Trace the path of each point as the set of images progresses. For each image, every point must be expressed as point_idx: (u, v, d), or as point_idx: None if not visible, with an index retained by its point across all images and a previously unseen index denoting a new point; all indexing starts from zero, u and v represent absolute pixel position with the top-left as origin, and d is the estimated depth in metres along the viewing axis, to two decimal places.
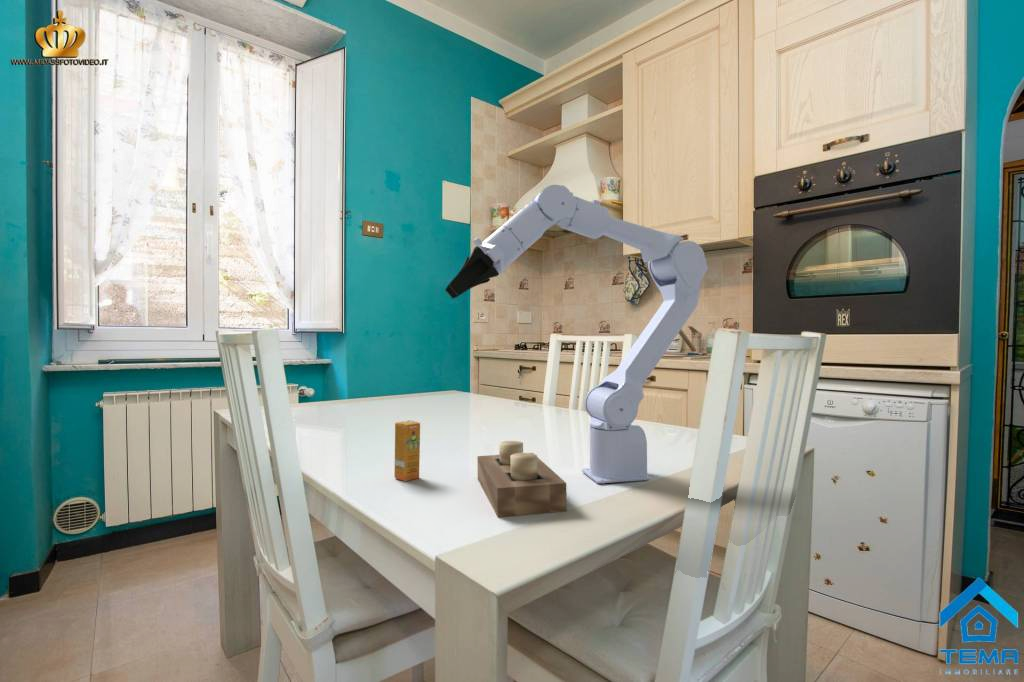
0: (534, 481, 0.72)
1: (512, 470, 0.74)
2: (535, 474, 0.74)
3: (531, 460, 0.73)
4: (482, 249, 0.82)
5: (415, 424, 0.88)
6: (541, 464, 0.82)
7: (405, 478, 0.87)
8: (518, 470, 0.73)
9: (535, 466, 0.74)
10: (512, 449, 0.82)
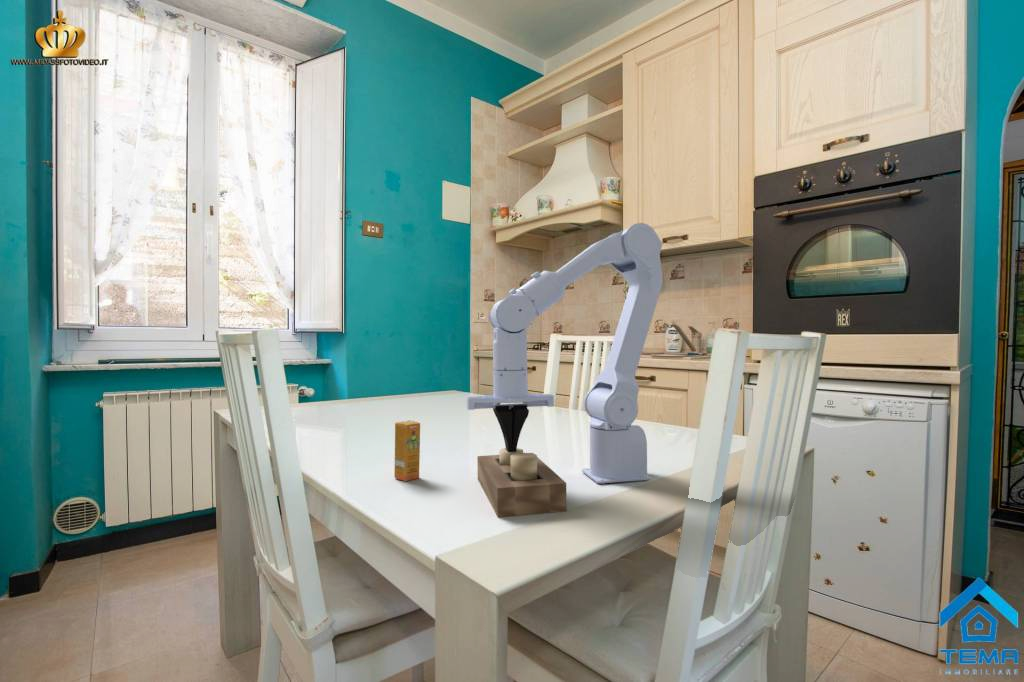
0: (534, 481, 0.72)
1: (512, 470, 0.74)
2: (535, 474, 0.74)
3: (531, 460, 0.73)
4: None
5: (415, 424, 0.88)
6: (541, 464, 0.82)
7: (405, 478, 0.87)
8: (518, 470, 0.73)
9: (535, 466, 0.74)
10: None
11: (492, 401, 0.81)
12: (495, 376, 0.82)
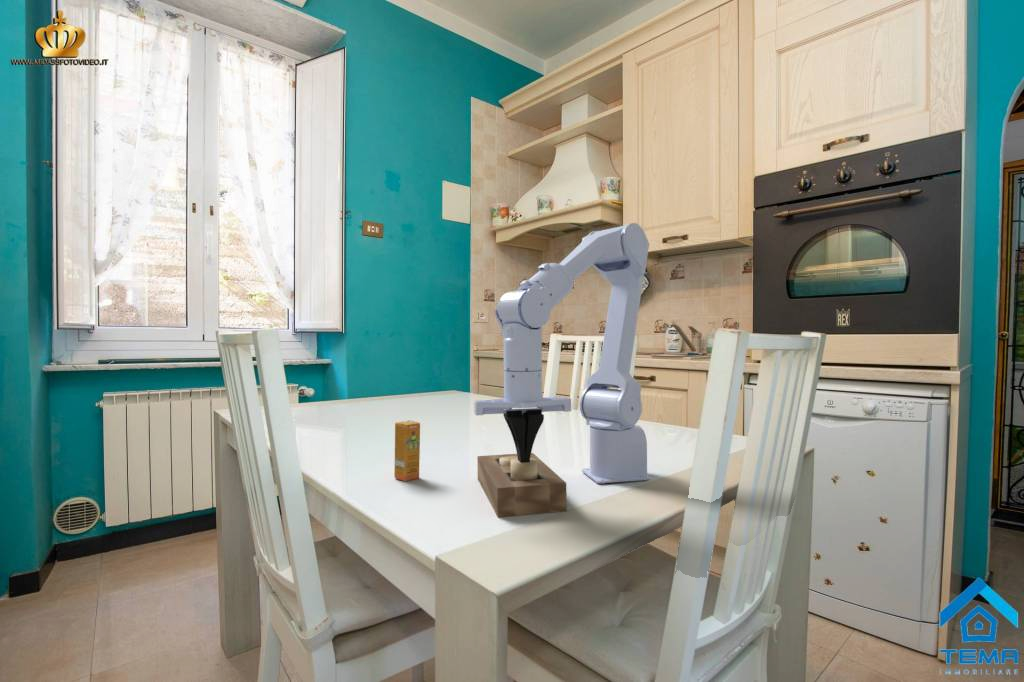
0: (534, 481, 0.72)
1: (512, 475, 0.74)
2: None
3: (531, 465, 0.73)
4: None
5: (415, 424, 0.88)
6: (541, 464, 0.82)
7: (405, 478, 0.87)
8: (518, 475, 0.73)
9: (535, 471, 0.74)
10: None
11: (503, 406, 0.72)
12: (506, 378, 0.73)
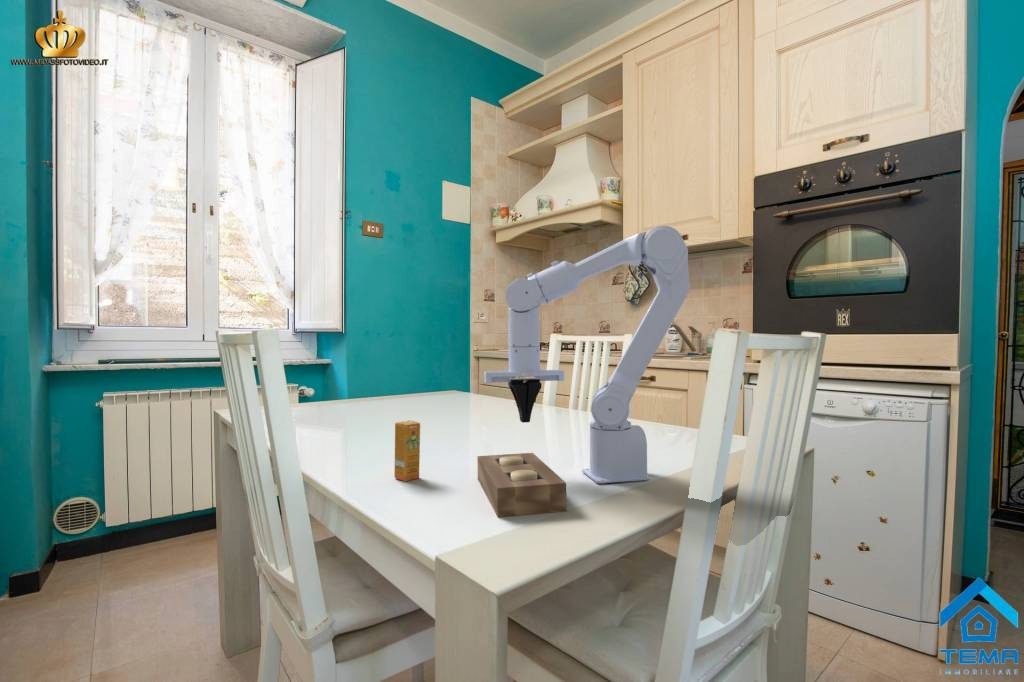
0: (534, 481, 0.72)
1: None
2: None
3: (531, 478, 0.73)
4: None
5: (415, 424, 0.88)
6: (541, 464, 0.82)
7: (405, 478, 0.87)
8: None
9: None
10: None
11: (508, 375, 0.88)
12: (510, 352, 0.89)
